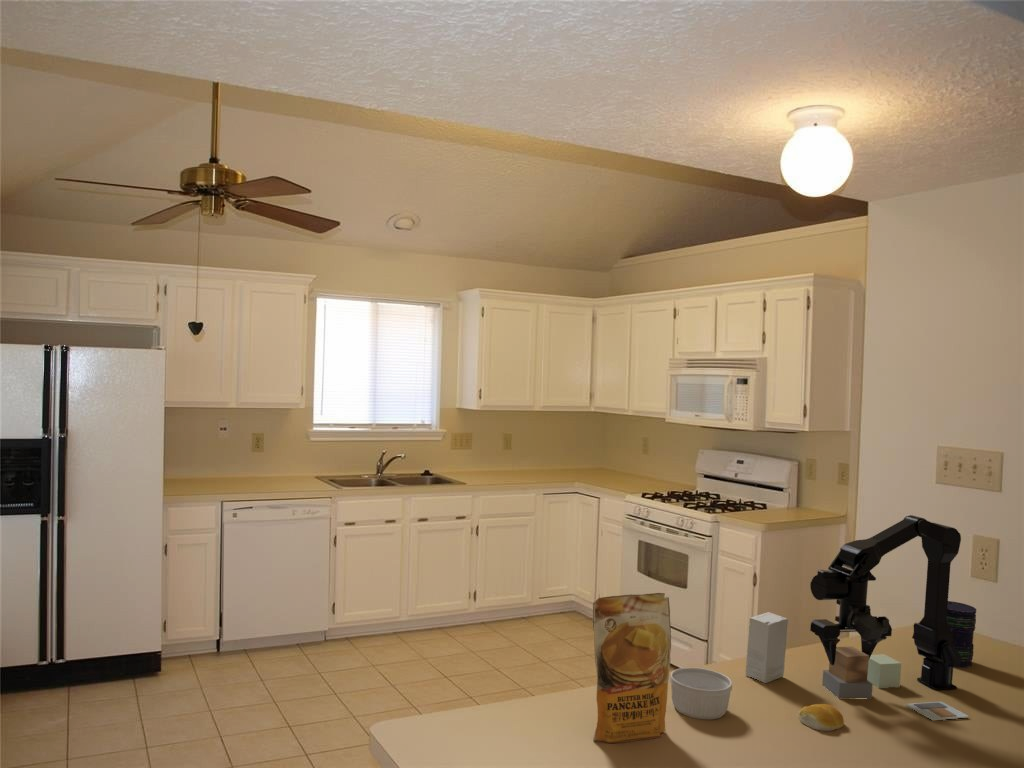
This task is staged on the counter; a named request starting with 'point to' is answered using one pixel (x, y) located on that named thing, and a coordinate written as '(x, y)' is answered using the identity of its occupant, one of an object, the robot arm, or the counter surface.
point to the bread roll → (821, 717)
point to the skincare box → (766, 647)
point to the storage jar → (962, 630)
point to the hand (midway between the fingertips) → (848, 663)
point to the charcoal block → (846, 687)
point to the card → (937, 710)
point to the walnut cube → (850, 664)
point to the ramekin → (700, 692)
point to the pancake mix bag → (631, 666)
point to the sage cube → (884, 671)
